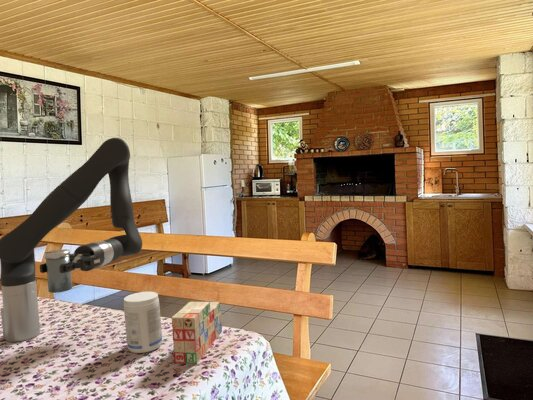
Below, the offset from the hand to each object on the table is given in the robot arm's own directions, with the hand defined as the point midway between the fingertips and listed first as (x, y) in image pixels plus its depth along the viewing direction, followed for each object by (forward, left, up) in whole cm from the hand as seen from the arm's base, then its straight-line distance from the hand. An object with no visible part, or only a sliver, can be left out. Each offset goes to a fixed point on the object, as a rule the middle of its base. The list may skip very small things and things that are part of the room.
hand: (51, 269), depth 99 cm
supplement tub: (+16, +14, -26) cm, 34 cm away
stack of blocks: (+32, +17, -26) cm, 44 cm away
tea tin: (0, +3, -6) cm, 7 cm away
